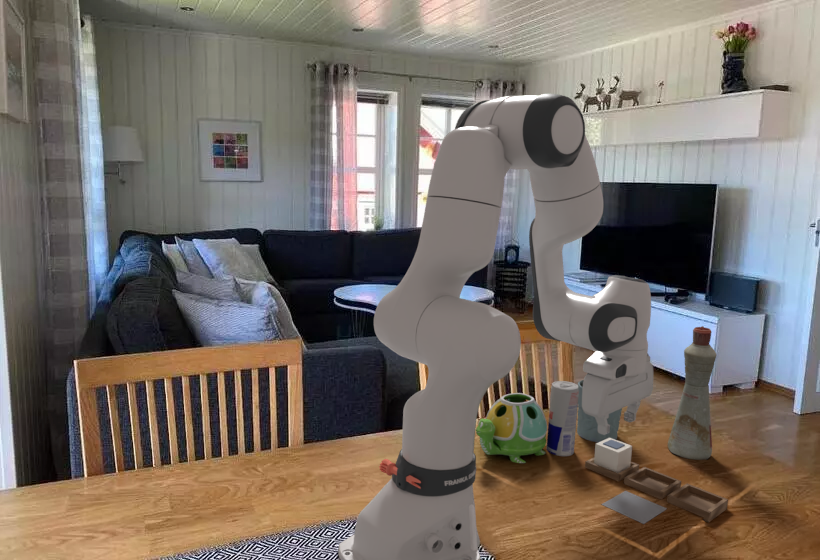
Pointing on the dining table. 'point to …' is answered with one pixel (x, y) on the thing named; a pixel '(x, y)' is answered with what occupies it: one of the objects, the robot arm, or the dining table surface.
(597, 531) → the dining table surface
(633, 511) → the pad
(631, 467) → the tray
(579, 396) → the blue-grey plant pot
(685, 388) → the bottle
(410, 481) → the robot arm
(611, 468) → the white cube
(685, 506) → the tray
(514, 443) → the turtle holder
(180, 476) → the dining table surface
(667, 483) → the tray
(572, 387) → the beverage can
